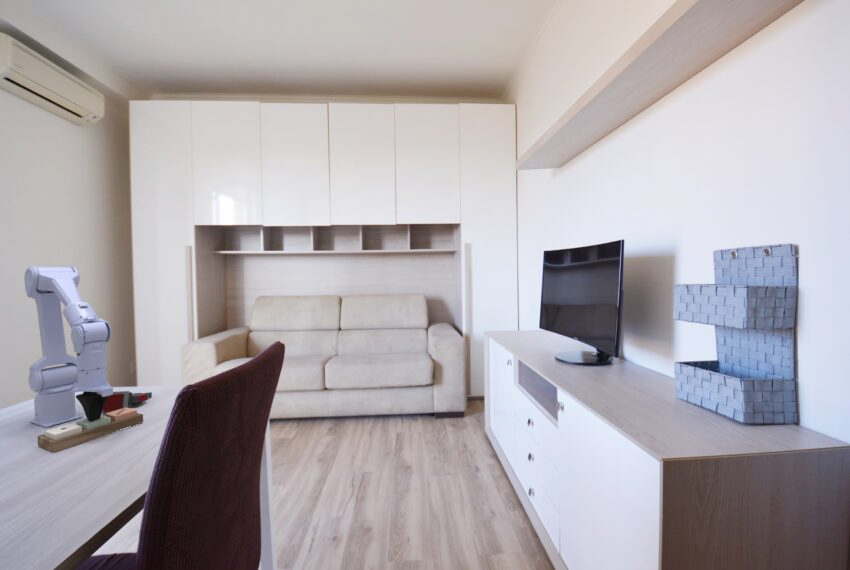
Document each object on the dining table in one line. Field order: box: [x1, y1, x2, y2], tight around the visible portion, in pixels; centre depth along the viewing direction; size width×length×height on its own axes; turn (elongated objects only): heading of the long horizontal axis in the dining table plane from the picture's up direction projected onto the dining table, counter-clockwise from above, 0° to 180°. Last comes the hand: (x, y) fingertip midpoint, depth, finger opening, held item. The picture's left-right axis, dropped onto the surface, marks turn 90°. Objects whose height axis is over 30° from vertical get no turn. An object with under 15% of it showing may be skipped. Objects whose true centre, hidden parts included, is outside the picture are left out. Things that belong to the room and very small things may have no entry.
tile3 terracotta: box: [104, 407, 138, 422], centre depth 100 cm, size 5×5×4 cm
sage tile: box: [76, 414, 111, 431], centre depth 94 cm, size 5×5×4 cm
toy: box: [102, 390, 153, 413], centre depth 115 cm, size 9×6×15 cm
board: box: [37, 412, 144, 454], centre depth 94 cm, size 8×19×2 cm, turn 156°
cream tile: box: [44, 422, 82, 441], centre depth 89 cm, size 5×5×4 cm
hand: (94, 419), depth 94 cm, fingers closed, pressing on sage tile
